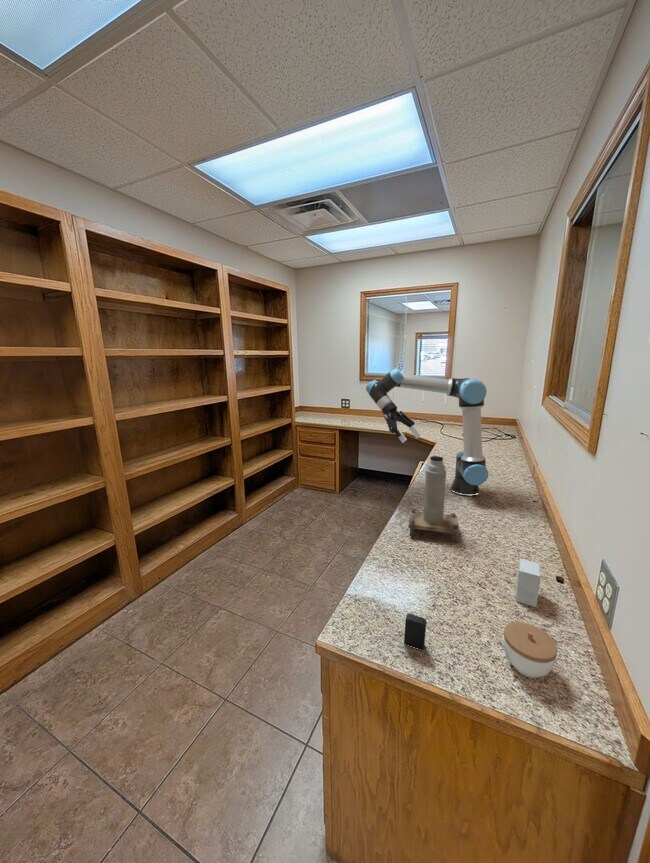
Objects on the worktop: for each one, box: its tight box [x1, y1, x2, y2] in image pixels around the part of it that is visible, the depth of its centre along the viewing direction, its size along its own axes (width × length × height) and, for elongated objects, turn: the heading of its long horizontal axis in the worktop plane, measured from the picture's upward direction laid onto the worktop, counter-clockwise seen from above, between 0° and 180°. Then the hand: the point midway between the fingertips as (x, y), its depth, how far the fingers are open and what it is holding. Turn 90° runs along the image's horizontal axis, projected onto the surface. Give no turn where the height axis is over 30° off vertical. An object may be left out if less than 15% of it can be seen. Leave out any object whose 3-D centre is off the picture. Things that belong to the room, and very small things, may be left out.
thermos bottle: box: [423, 455, 447, 524], centre depth 138 cm, size 8×8×28 cm
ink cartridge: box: [403, 612, 427, 651], centre depth 84 cm, size 5×2×8 cm, turn 65°
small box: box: [515, 558, 542, 608], centre depth 101 cm, size 8×6×10 cm
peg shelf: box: [408, 508, 461, 544], centre depth 141 cm, size 20×14×7 cm
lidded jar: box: [503, 621, 558, 679], centre depth 78 cm, size 11×11×9 cm
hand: (412, 439), depth 161 cm, fingers open, 13 cm apart
